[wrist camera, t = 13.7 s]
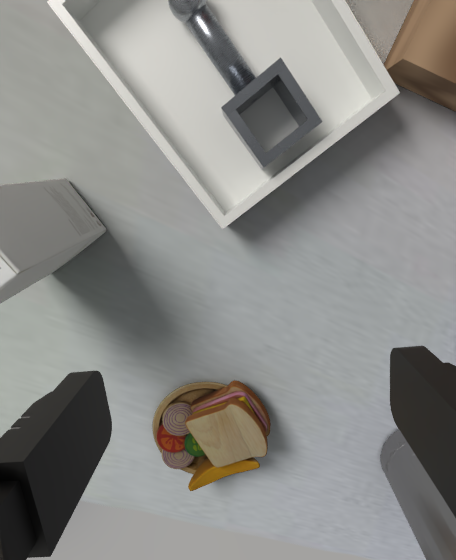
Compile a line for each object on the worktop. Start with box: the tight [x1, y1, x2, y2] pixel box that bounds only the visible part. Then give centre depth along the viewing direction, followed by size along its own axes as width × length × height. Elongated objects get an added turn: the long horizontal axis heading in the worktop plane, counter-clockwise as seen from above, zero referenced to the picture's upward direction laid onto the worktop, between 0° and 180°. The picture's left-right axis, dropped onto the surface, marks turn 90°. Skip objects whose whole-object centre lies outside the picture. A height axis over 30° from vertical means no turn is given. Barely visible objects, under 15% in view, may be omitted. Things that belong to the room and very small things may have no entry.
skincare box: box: [0, 179, 106, 303], centre depth 29 cm, size 8×7×16 cm
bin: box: [47, 0, 400, 229], centre depth 30 cm, size 22×18×4 cm
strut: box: [168, 0, 322, 168], centre depth 30 cm, size 6×16×4 cm, turn 37°
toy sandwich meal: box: [153, 381, 270, 491], centre depth 41 cm, size 12×14×5 cm
